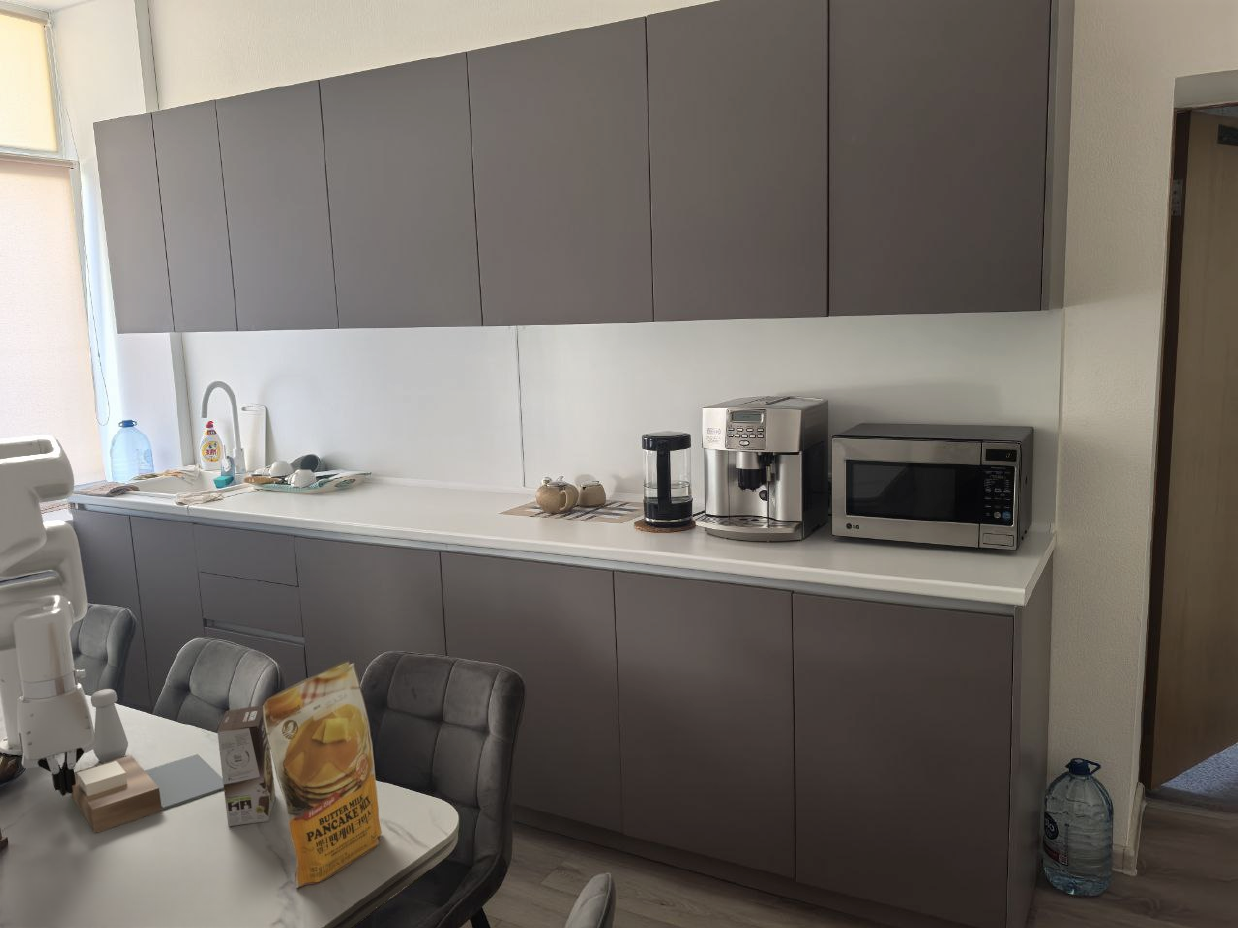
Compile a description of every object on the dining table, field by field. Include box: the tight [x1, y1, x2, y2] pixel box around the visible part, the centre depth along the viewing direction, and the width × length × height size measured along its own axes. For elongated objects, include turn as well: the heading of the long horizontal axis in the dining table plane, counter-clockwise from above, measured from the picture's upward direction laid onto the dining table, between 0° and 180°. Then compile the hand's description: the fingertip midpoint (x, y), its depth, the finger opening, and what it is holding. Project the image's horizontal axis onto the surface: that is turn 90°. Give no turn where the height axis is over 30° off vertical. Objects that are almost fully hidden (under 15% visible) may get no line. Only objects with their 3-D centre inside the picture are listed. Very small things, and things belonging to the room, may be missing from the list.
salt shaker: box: [90, 688, 129, 764], centre depth 184 cm, size 6×6×13 cm
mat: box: [144, 753, 224, 811], centre depth 174 cm, size 17×11×1 cm, turn 40°
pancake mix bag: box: [262, 660, 383, 889], centre depth 145 cm, size 7×19×28 cm, turn 147°
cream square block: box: [77, 761, 127, 796], centre depth 166 cm, size 6×6×2 cm
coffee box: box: [217, 705, 276, 827], centre depth 162 cm, size 9×6×16 cm
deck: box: [70, 754, 163, 834], centre depth 168 cm, size 17×10×4 cm, turn 40°
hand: (65, 791), depth 163 cm, fingers closed
